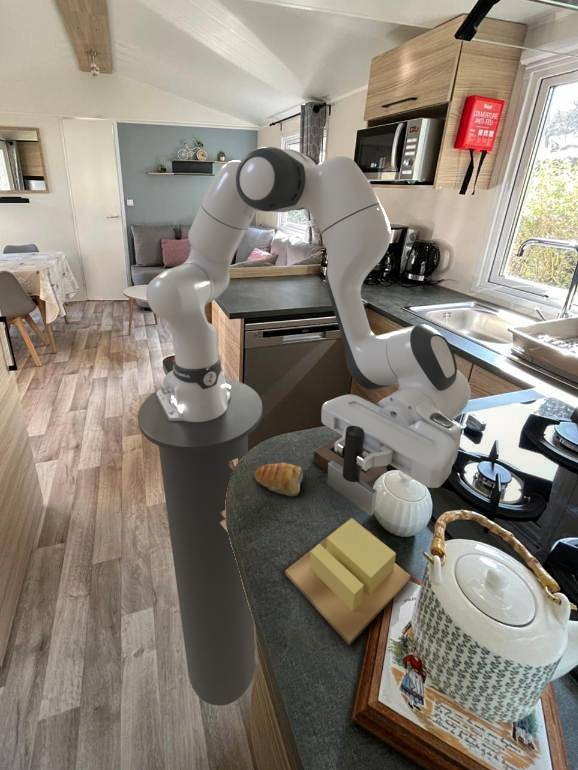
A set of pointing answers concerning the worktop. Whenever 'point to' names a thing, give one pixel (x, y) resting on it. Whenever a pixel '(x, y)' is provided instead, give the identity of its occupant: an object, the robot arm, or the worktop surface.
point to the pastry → (280, 478)
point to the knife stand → (329, 454)
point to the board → (334, 607)
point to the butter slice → (336, 577)
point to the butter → (361, 554)
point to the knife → (352, 473)
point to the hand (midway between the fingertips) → (349, 456)
